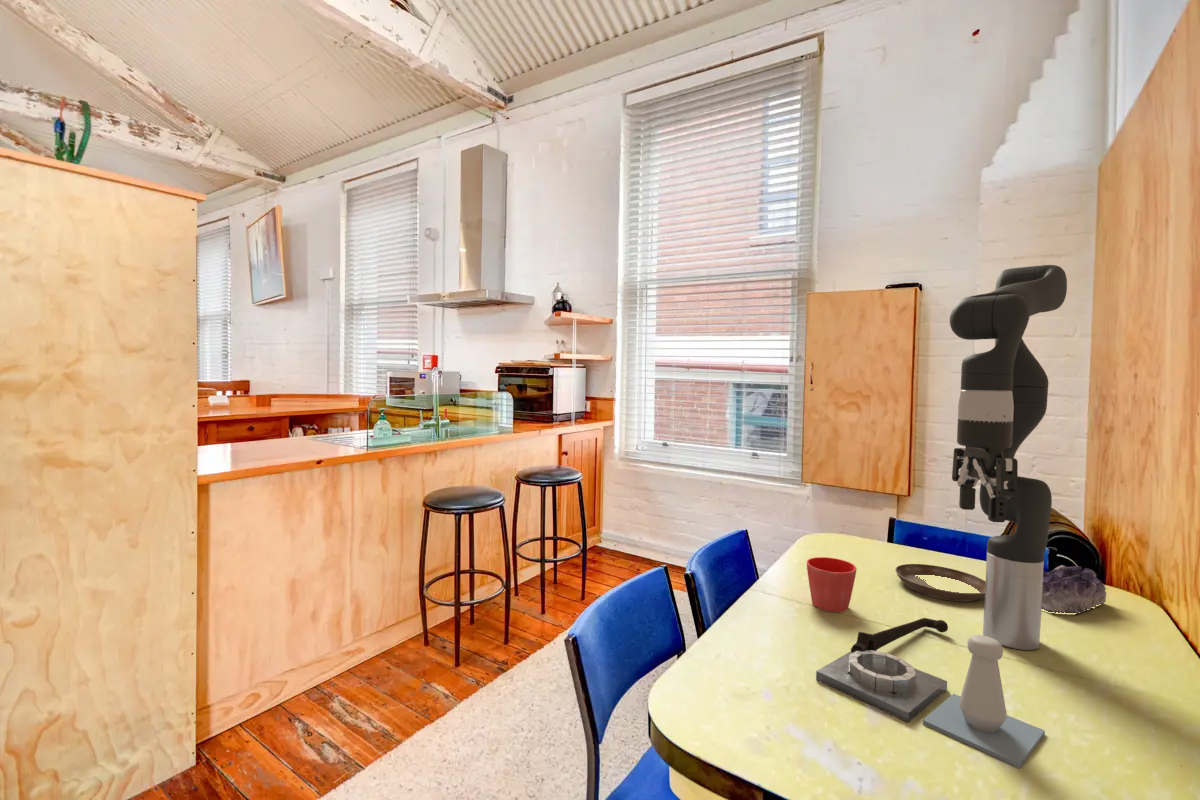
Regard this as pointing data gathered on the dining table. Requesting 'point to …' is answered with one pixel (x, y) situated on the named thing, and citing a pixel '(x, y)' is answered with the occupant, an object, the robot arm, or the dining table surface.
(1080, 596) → the geode
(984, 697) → the salt shaker
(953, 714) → the rubber mat
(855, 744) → the dining table surface
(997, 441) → the robot arm
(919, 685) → the eye plate
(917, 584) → the plant saucer
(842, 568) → the flower pot
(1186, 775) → the dining table surface
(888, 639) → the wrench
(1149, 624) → the dining table surface
